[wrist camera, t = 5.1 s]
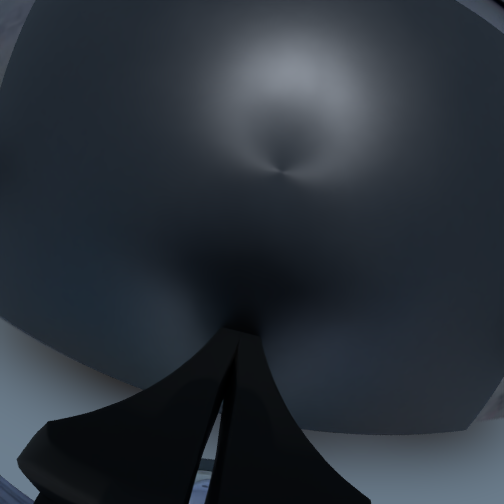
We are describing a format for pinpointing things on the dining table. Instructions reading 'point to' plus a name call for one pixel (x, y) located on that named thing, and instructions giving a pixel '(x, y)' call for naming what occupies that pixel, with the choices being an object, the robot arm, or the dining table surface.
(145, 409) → the robot arm
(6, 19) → the dining table surface
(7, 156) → the panel
